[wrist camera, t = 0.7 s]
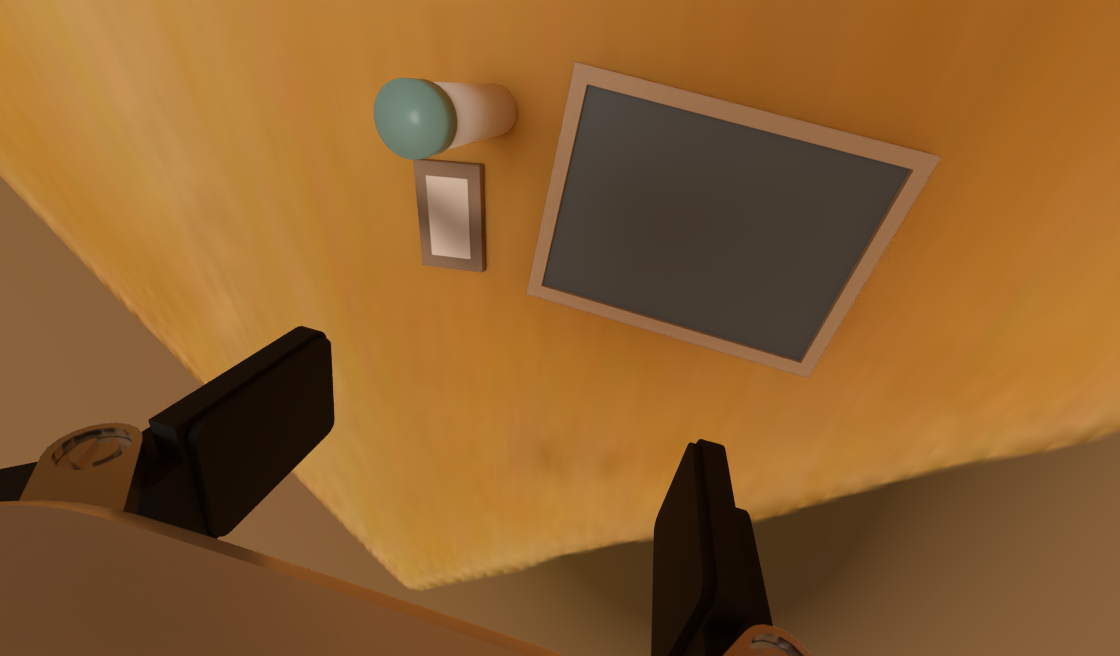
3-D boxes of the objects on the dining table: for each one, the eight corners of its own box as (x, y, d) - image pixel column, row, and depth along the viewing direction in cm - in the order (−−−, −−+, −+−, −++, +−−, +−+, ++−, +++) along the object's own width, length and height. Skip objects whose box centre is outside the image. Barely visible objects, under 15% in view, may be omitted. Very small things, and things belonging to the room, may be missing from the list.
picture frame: (418, 158, 34) (412, 159, 33) (483, 164, 33) (478, 165, 33) (427, 261, 38) (422, 265, 37) (485, 268, 37) (482, 272, 36)
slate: (578, 62, 29) (575, 61, 28) (931, 154, 28) (941, 156, 27) (530, 288, 37) (526, 293, 36) (803, 369, 35) (808, 378, 34)
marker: (473, 76, 31) (374, 69, 20) (522, 89, 31) (447, 88, 20) (467, 130, 33) (373, 149, 22) (513, 143, 32) (439, 168, 22)
